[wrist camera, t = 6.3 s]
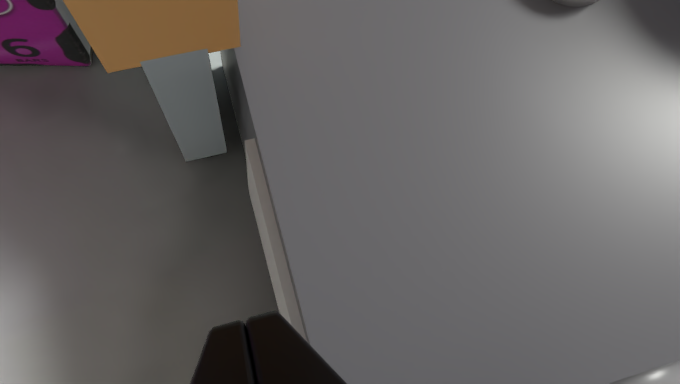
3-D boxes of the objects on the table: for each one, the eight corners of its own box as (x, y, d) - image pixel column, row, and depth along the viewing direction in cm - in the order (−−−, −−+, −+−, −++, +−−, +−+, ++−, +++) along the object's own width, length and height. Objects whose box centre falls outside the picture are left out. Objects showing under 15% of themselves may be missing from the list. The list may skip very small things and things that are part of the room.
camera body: (630, 368, 19) (869, 400, 12) (317, 470, 17) (361, 584, 10) (508, 6, 21) (646, -166, 13) (215, 66, 19) (189, -93, 12)
